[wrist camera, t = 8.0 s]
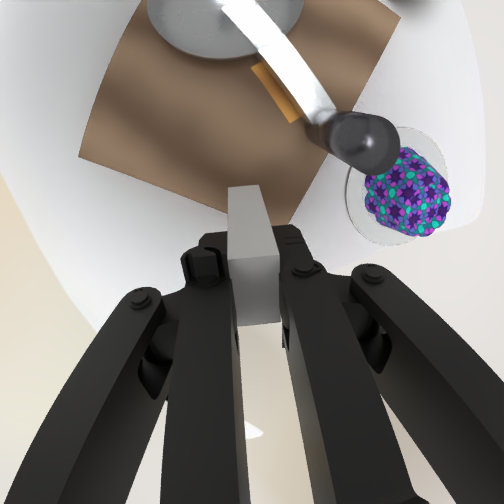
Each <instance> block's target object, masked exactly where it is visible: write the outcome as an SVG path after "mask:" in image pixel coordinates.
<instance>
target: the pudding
mask: <svg viewBox="0 0 504 504" xmlns="http://www.w3.org/2000/svg"><path fill="white" fill-rule="evenodd" d="M396 130H397V132H398V134H399V137H400V145H401V146H405V147H401V148H400V154H399V157H398V159H397V161H396V163H395V164H394V166H393V167H392V168H391V169H390V170H389V171H387V172H385V173H384V174H381V175H377V176H370V175H367V176H366V174H363V173H361V172H360V171H358V170H356V169H355V168H353V167H352V169H351V171H350V174H349V178H348V183H347V193H346V199H347V208H348V211H349V215H350V218H351V220H352V222H353V224H354V226H355V227H356V228H357V230H358V231H359V232H360V233H361V234H362V235H363V236H364V237H365V238H366V239H368V240H370V241H372V242H373V243H377V244H380V245H387V246H392V245H400V244H403V243H407V242H409V241H411V240H413V239H415V238H416V237H418V236H421V237H425V236H429V235H430V234H432V233H433V232H434V230H435V229H436V228H439V227H440V226H441V225H442V224H443V223H444V221H445V219H446V213H447V212H448V211H449V209H450V206H451V198H450V196H449V186H448V183H447V181H448V176H447V167H446V164H445V160H444V157H443V155H442V153H441V151H440V149H439V148H438V146H437V145H436V143H435V142H434V141H433V140H432V139H431V138H430V137H429V136H427V135H426V134H424V133H422V132H421V131H418V130H415V129H412V128H404V127H403V128H396ZM408 147H410V148H413V149H415V150H417V151H418V152H419V153H421V154H422V155H423V156H424V158H425V159H426V160H427V161H426V160H425V159H424V158H423V157H422V156H419V155H418V154H417V153H416V152H415V151H414V150H412V149H410V148H408ZM365 176H366V178H365ZM364 179H365V187H366V189H367V191H368V193H367V195H366V197H365V206H366V208H367V210H368V211H369V212H371V213H373V214H375V215H376V221H377V222H379V223H380V224H381V225H379V224H378V223H376V222H375V221H374V220H373V219H372V218H371V217H370V216H369V214H368V213H367V211H366V208H365V206H364V202H363V183H364ZM382 225H383V226H382ZM384 226H386V227H384Z"/></svg>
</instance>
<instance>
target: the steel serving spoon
mask: <svg viewBox="0 0 504 504" xmlns="http://www.w3.org/2000/svg"><path fill="white" fill-rule="evenodd" d="M303 4H304V0H147V11H148V15H149V18H150V21H151V23H152V24H153V26H154V28H155V29H156V31H157V32H158V33H159V34H160V35H161V36H162V37H163V38H164V39H165V40H166V41H167V42H169V43H170V44H171V45H172V46H173V47H175V48H176V49H178V50H179V51H181V52H183V53H185V54H187V55H190V56H192V57H195V58H199V59H203V60H209V61H235V60H241V59H245V58H249V57H252V56H255V55H256V56H257V58H258V59H259V60H260V61H261V63H262V64H263V65H264V66H265V68H266V69H267V70H268V71H269V73H270V74H271V75H272V77H273V78H274V79H275V81H276V82H277V83H278V85H279V86H280V87H281V89H282V90H283V91H284V93H285V94H286V95H287V97H288V98H289V100H290V101H291V102H292V104H293V105H294V107H295V108H296V109H297V111H298V112H299V114H300V115H301V117H302V118H303V120H304V121H305V125H304V128H305V133H306V136H307V137H308V139H309V140H310V141H311V142H312V143H313V144H315V145H317V146H318V147H320V148H322V149H324V150H325V151H327V152H329V153H330V154H332V155H334V156H335V157H337V158H339V159H340V160H342V161H344V162H345V163H347V164H348V165H350V166H352V167H353V168H355V169H356V170H358V171H360V172H361V173H363V174H366V175H370V176H377V175H381V174H384V173H385V172H387V171H389V170H390V169H391V168H392V167H393V166H394V164H395V163H396V161H397V159H398V157H399V154H400V147H401V145H400V137H399V134H398V132H397V130H396V128H395V127H394V125H393V124H392V123H391V122H390V121H388V120H387V119H385V118H383V117H380V116H376V115H371V114H365V113H359V112H353V111H347V110H340V109H336V107H335V105H334V104H333V102H332V101H331V99H330V98H329V96H328V95H327V93H326V92H325V90H324V89H323V87H322V86H321V84H320V83H319V81H318V80H317V78H316V77H315V75H314V74H313V73H312V71H311V70H310V68H309V67H308V66H307V64H306V63H305V61H304V60H303V59H302V57H301V56H300V55H299V53H298V52H297V51H296V49H295V48H294V47H293V46H292V44H291V43H290V42H289V40H288V39H287V38H286V37H285V35H286V34H287V33H288V32H289V30H290V29H291V28H292V27H293V26H294V24H295V23H296V21H297V20H298V18H299V16H300V14H301V12H302V8H303Z"/></svg>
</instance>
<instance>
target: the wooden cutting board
mask: <svg viewBox="0 0 504 504" xmlns="http://www.w3.org/2000/svg"><path fill="white" fill-rule="evenodd" d="M400 19H401V17H399V16H398V15H397V14H396V13H394V12H393V11H392V10H390V9H389V8H388V7H386V6H385V5H383V4H382V3H381V2H379V1H378V0H304V4H303V8H302V12H301V14H300V16H299V18H298V20H297V21H296V23H295V24H294V26H293V27H292V28H291V29H290V30H289V32H288V33H287V34H286V35H285V37H286V38H287V39H288V40H289V42H290V43H291V44H292V46H293V47H294V48H295V49H296V51H297V52H298V53H299V55H300V56H301V57H302V59H303V60H304V61H305V63H306V64H307V66H308V67H309V68H310V70H311V71H312V73H313V74H314V75H315V77H316V78H317V80H318V81H319V83H320V84H321V86H322V87H323V89H324V90H325V92H326V93H327V95H328V96H329V98H330V99H331V101H332V102H333V104H334V105H335V107H336V109H340V110H347V111H352V109H353V107H354V105H355V103H356V102H357V100H358V98H359V96H360V94H361V92H362V90H363V89H364V87H365V85H366V83H367V81H368V79H369V77H370V76H371V74H372V72H373V70H374V68H375V66H376V64H377V62H378V61H379V59H380V57H381V55H382V53H383V51H384V49H385V47H386V45H387V44H388V42H389V40H390V38H391V36H392V34H393V32H394V30H395V28H396V26H397V24H398V22H399V21H400ZM304 125H305V121H304V120H303V118H302V117H301V115H300V114H299V112H298V111H297V109H296V108H295V107H294V105H293V104H292V102H291V101H290V100H289V98H288V97H287V95H286V94H285V93H284V91H283V90H282V89H281V87H280V86H279V85H278V83H277V82H276V81H275V79H274V78H273V77H272V75H271V74H270V73H269V71H268V70H267V69H266V68H265V66H264V65H263V64H262V63H261V61H260V60H259V59H258V58H257V56H256V55H255V56H252V57H249V58H245V59H241V60H235V61H209V60H203V59H199V58H195V57H192V56H190V55H187V54H185V53H183V52H181V51H179V50H178V49H176V48H175V47H173V46H172V45H171V44H170V43H169V42H167V41H166V40H165V39H164V38H163V37H162V36H161V35H160V34H159V33H158V32H157V31H156V29H155V28H154V26H153V24H152V23H151V21H150V18H149V15H148V11H147V0H141V2H140V4H139V6H138V7H137V9H136V11H135V13H134V14H133V16H132V18H131V20H130V22H129V24H128V25H127V27H126V29H125V31H124V33H123V35H122V37H121V39H120V41H119V43H118V45H117V48H116V50H115V52H114V54H113V56H112V59H111V61H110V63H109V65H108V68H107V70H106V73H105V75H104V78H103V80H102V83H101V85H100V88H99V91H98V93H97V96H96V99H95V102H94V105H93V107H92V110H91V113H90V117H89V120H88V123H87V126H86V130H85V133H84V136H83V140H82V144H81V147H80V151H79V155H78V157H80V158H83V159H85V160H88V161H91V162H94V163H96V164H99V165H102V166H105V167H107V168H110V169H113V170H116V171H118V172H121V173H124V174H126V175H129V176H132V177H134V178H137V179H140V180H142V181H145V182H148V183H150V184H153V185H155V186H158V187H161V188H163V189H166V190H168V191H171V192H174V193H176V194H179V195H181V196H184V197H186V198H189V199H192V200H194V201H197V202H199V203H202V204H204V205H207V206H209V207H212V208H214V209H217V210H219V211H222V212H224V213H227V214H228V188H229V187H239V186H249V185H259V188H260V191H261V194H262V197H263V201H264V204H265V207H266V211H267V214H268V217H269V221H270V224H271V226H278V225H288V223H289V221H290V220H291V218H292V216H293V214H294V213H295V211H296V209H297V207H298V206H299V204H300V202H301V200H302V199H303V197H304V195H305V193H306V191H307V190H308V188H309V186H310V184H311V183H312V181H313V179H314V177H315V176H316V174H317V172H318V170H319V168H320V167H321V165H322V163H323V161H324V160H325V158H326V156H327V154H328V152H327V151H325V150H324V149H322V148H320V147H318V146H317V145H315V144H313V143H312V142H311V141H310V140H309V139H308V137H307V136H306V133H305V128H304Z"/></svg>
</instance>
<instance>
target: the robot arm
mask: <svg viewBox="0 0 504 504" xmlns="http://www.w3.org/2000/svg"><path fill="white" fill-rule="evenodd" d="M180 260H181V264H182V268H183V272H184V277H185V281H186V284H185V287H184V288H183V289H181V290H179V291H177V292H174V293H171V294H168V295H164V296H161V293H160V292H159V291H158V290H157V289H156V288H152V287H141V288H137V289H134V290H133V291H131V292H129V293H127V294H126V295H125V296H124V297H123V298H122V300H121V301H120V302H119V304H118V305H117V306H116V308H115V309H114V311H113V312H112V314H111V315H110V316H109V318H108V319H107V321H106V322H105V323H104V325H103V326H102V328H101V329H100V331H99V332H98V334H97V335H96V337H95V338H94V340H93V341H92V343H91V344H90V346H89V347H88V349H87V350H86V352H85V353H84V355H83V356H82V358H81V359H80V361H79V362H78V364H77V366H76V367H75V369H74V370H73V372H72V373H71V375H70V377H69V378H68V380H67V382H66V383H65V385H64V386H63V388H62V390H61V391H60V394H59V395H58V397H57V398H56V400H55V402H54V403H53V405H52V407H51V409H50V410H49V412H48V414H47V416H46V417H45V419H44V421H43V423H42V425H41V426H40V428H39V430H38V432H37V434H36V436H35V438H34V440H33V441H32V443H31V445H30V447H29V450H28V451H27V453H26V455H25V457H24V460H23V461H22V464H21V466H20V468H19V470H18V472H17V474H16V477H15V479H14V481H13V483H12V486H11V488H10V490H9V492H8V495H7V497H6V500H5V502H4V504H125V503H126V500H127V498H128V495H129V492H130V489H131V487H132V484H133V481H134V479H135V476H136V473H137V471H138V468H139V466H140V463H141V460H142V458H143V455H144V453H145V450H146V448H147V445H148V442H149V440H150V437H151V434H152V432H153V429H154V427H155V424H156V422H157V420H158V417H159V414H160V412H161V410H162V407H163V405H164V402H165V400H166V397H167V395H168V392H169V397H168V405H167V415H166V424H165V435H164V447H163V459H162V474H161V492H160V504H251V502H250V491H249V478H248V466H247V454H246V440H245V427H244V413H243V398H242V383H241V367H240V352H239V336H238V330H237V326H248V325H257V324H267V323H276V322H281V319H282V348H285V349H286V354H287V360H288V365H289V370H290V375H291V380H292V385H293V390H294V396H295V401H296V406H297V411H298V416H299V422H300V427H301V433H302V438H303V443H304V449H305V454H306V460H307V465H308V471H309V476H310V482H311V488H312V493H313V499H314V504H429V502H428V501H426V500H425V499H423V498H421V497H419V496H418V495H417V494H416V493H415V491H414V490H413V487H412V484H411V481H410V478H409V475H408V471H407V468H406V465H405V462H404V459H403V456H402V453H401V450H400V447H399V444H398V441H397V439H396V436H395V433H394V430H393V428H392V425H391V422H390V419H389V416H388V414H387V411H386V408H385V406H384V403H383V401H382V398H381V395H382V397H383V398H384V400H385V401H386V403H387V404H388V405H389V407H390V408H391V410H392V411H393V412H394V414H395V415H396V416H397V418H398V419H399V421H400V422H401V423H402V425H403V426H404V428H405V429H406V431H407V432H408V434H409V435H410V436H411V438H412V439H413V441H414V442H415V444H416V445H417V446H418V448H419V449H420V451H421V452H422V454H423V455H424V457H425V458H426V459H427V461H428V462H429V464H430V465H431V467H432V468H433V470H434V471H435V473H436V474H437V475H438V477H439V478H440V480H441V481H442V483H443V484H444V486H445V487H446V489H447V490H448V492H449V493H450V495H451V496H452V498H453V499H454V501H455V502H456V504H504V382H503V381H502V380H501V379H500V378H499V377H498V375H497V374H496V373H495V372H494V371H493V370H492V369H491V368H490V367H489V366H488V365H487V363H486V362H485V361H484V360H483V359H482V358H481V357H480V356H479V355H478V354H477V353H476V352H475V351H474V350H473V349H472V348H471V347H470V346H469V345H468V344H467V343H466V342H465V341H464V340H463V339H462V338H461V337H460V336H459V335H458V334H457V333H456V332H455V331H454V330H453V329H452V328H451V327H450V326H449V325H448V324H447V323H446V322H445V321H444V320H443V319H442V318H441V317H440V316H439V315H438V314H437V313H436V312H435V311H434V310H433V309H431V308H430V307H429V306H428V305H427V304H426V303H425V302H424V301H423V300H422V299H420V298H419V297H418V296H417V295H416V294H415V293H414V292H413V291H412V290H411V289H409V288H408V287H407V286H406V285H405V284H404V283H403V282H402V281H401V280H399V279H398V278H397V277H396V276H395V275H394V274H392V273H391V272H390V271H389V270H387V269H386V268H384V267H382V266H379V265H376V264H361V265H359V266H357V267H355V268H354V269H353V271H352V274H351V276H342V275H334V274H330V273H327V271H326V269H325V267H324V266H323V265H322V264H321V263H319V262H317V261H315V260H313V257H312V255H311V253H310V251H309V249H308V247H307V244H306V243H305V240H304V238H303V236H302V234H301V232H300V230H299V229H298V228H296V227H295V226H294V225H292V224H289V225H278V226H271V224H270V221H269V217H268V214H267V211H266V207H265V204H264V201H263V197H262V194H261V191H260V188H259V185H249V186H239V187H229V188H228V231H225V232H215V233H205V234H204V235H203V236H202V238H201V239H200V240H199V243H198V246H196V247H194V248H191V249H189V250H188V251H186V252H185V253H184V254H183V255H182V257H181V258H180ZM380 394H381V395H380Z"/></svg>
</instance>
